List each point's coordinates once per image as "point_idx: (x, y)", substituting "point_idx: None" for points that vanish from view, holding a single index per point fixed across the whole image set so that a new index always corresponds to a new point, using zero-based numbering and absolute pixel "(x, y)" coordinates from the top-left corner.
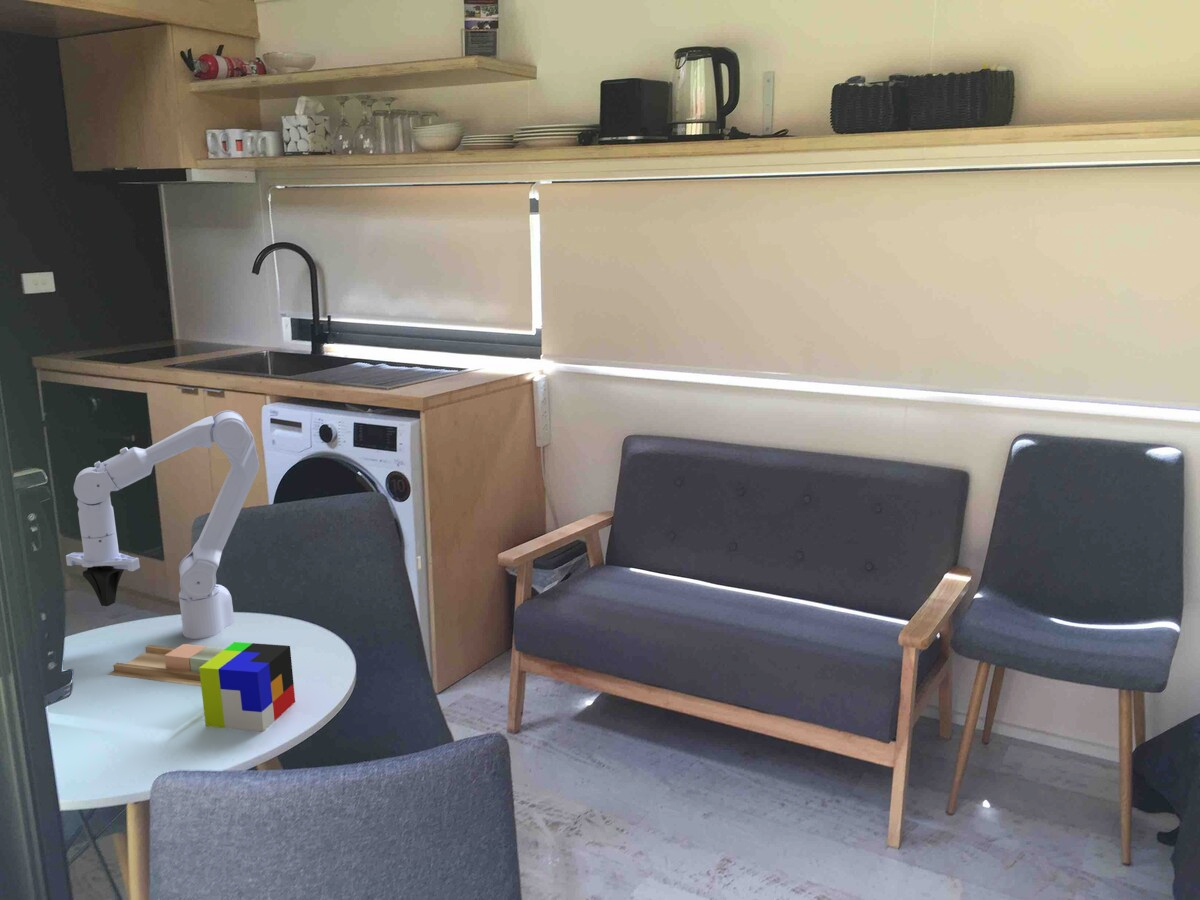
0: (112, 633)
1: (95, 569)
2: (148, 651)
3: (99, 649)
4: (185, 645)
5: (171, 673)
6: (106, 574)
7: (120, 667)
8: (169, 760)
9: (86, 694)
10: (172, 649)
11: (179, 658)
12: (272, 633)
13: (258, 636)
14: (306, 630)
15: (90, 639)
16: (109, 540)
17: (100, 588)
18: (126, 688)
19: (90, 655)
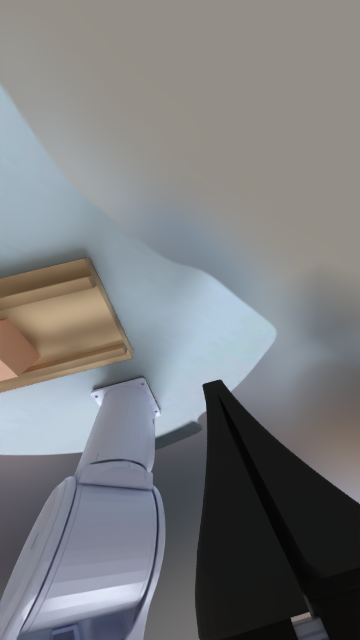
0: (240, 356)
1: (330, 589)
2: (119, 344)
3: (215, 322)
4: (6, 375)
5: None
6: (197, 604)
7: (72, 280)
8: None
9: (53, 187)
10: (74, 362)
11: None
12: (70, 433)
13: (74, 424)
14: (48, 449)
15: (253, 334)
16: None
17: (230, 440)
18: (22, 250)
19: (210, 305)
